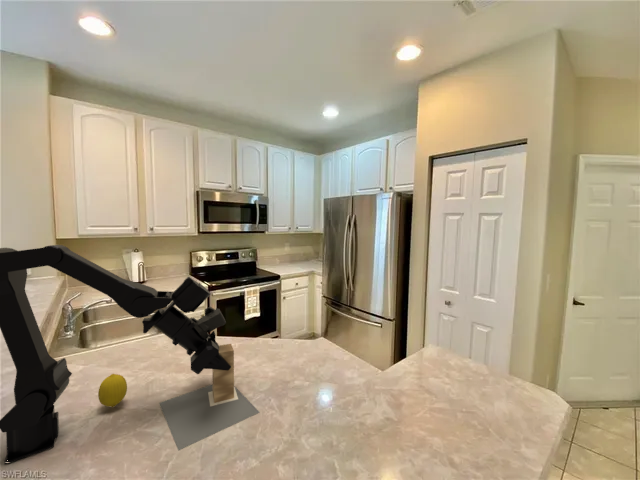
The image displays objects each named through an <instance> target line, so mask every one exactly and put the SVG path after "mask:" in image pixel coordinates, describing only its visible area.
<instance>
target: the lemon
mask: <svg viewBox="0 0 640 480" xmlns="http://www.w3.org/2000/svg"><path fill="white" fill-rule="evenodd" d="M127 391H128V384H127V380H126V378H125V377H124V376H123V375H122V374H121V375H120V374H117V373H111V374H110V375H108V376H107V377H106V378H104V379H103V381H102V382H101V383H100V385H99V387H98V394H97V395H98V400H99V403H100V404H101V405H102V406H104V407H108V408H109V407H111V408H115V407H116V406H117V405H118V404H120V403H121V402H122V401H123V400H124V398H125V397H126V394H127Z"/></svg>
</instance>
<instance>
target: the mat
mask: <svg viewBox="0 0 640 480" xmlns="http://www.w3.org/2000/svg"><path fill="white" fill-rule="evenodd" d="M158 404H159V407H160V409H161V411H162V414H163V416H164V418H165V422H166V423H167V427H168V428H169V431H170V434H171V437H172V438H173V441H174V443H175V446H176V448H177V450H178V451H181V450H183V449H185V448H187V447H189V446H192V445H194V444H196V443H198V442H200V441H202V440H204V439H207V438H208V437H210V436H213V435H215V434H218V433H220V432H221V431H224V430H226V429H228V428H230V427H232V426H235V425H236V424H238V423H240V422H243V421H245V420H247V419H249V418H251V417H253V416H255V415H258V414H260V411H259V409H257V408H256V407H255V406H254V405H253V404H252V402H251V401H250V400H249V399H248V398H247V397H246V396H245V395H244V394H243V393H242V392H241V390H239V389H238V388H237V387H236V386H235V385H234V398H232V399H228V400H224V401H220V402H216V403H214V398H213V383H212V384H209V385H206V386H204V387H200V388H196V389H195V390H191V391H189V392H186V393H184V394H181V395H178V396H175V397H173V398H170V399H167V400H163V401H160V402H159V403H158Z"/></svg>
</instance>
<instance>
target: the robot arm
mask: <svg viewBox="0 0 640 480" xmlns="http://www.w3.org/2000/svg"><path fill="white" fill-rule="evenodd" d="M41 267H51V268H53V269H55V270H56V271H59V272H60V273H63V274H65V275H67V276H68V277H71V278H72V279H75V280H77V281H78V282H80V283H83V284H85V285H87V286H88V287H90V288H92V289H94V290H97V291H98V292H101V293H102V294H104V295H106V296H108V297H109V298H110V299H112V300H113V301H114V303H116V304H117V305H118V306H119V308H121V309H122V310H123V311H125V312H126V313H127V314H129V315H131V316H132V317H134V318H140V319H141V318H142V321H141V322H142V325H143V330H142V333H143V334H147V333H148V332H149V331H150V330H151V329H152V328H155V329H156V330H157V331H159V332H160V333H162V334H163V335H165V336H166V337H168V338H169V339H170V340H171V341H172V344H173V345H174V346H175V347H177V345H179V346H180V347H182V348H183V349H184V350H185V351H186V354H187V355H188V356H190V371H192V372H194V373H195V374H196V375H199V374H200V373H202V372H203V370H212V369H217V370H227V371H228V370H229V369H230V368H231V366H230V364H229V363H228V362H227V361H226V360H225V359H224V358H223V357H222V356H221V354H220V353H219V346H220V344H219V343H218V342H217V341H216V333H215V332H216V331H215V330H216V329H218V328H219V327H223V326H224V325H226V324H227V321H226V319H225V317H224V315H223V313H222V311H221V310H220V308H217V307H216V308H213V307H211V306H209V307H207V308H204V315H202V316H201V317H200V318H199V319H196V318H195V317H189V316H187V315H186V314H187V313H191V312H192V313H194V312H195V311H196V310H197V309H199V307H200V306H201V305H202V304H203V303H204V302H205V301H206V300H207V299H208V298H209V297H210V296H211V295H212V293H211V292H210V291H209V289H207V288H206V287H205V286H204V285H203V284H202V283H200V282H197V280H195V279H193V278H192V277H191V276H187V277H186V278H185V279H184V280H183V282H181V284H180V285H179V286H178V287H177V288H176V289H175V290H173V291H168V290H167V291H165V290H164V291H163V290H157V289H156V288H154V287H152V286H148V285H146V284H142V283H140V282H136V281H133V280H128V279H125V278H122V276H121V277H120V276H119V275H117V274H115V273H113V272H111V271H110V270H108V269H106V268H104V267H102V266H101V265H99V264H96V263H95V262H93V261H91V260H90V259H87V258H86V257H84V256H81V255H80V254H78V253H76V252H74V251H72V250H71V249H70V248H69V247H67V246H65V245H63V244H54V245H53V244H52V245H46V246H44V247H40V248H37V247H36V248H31V249H23V250H17V249H14V248H11V247H0V332H1V334H2V337H3V339H4V342H5V344H6V347H7V349H8V352H9V355H10V357H11V359H12V362H13V364H14V367H15V370H16V371H15V372H16V374H15V380H14V384H13V385H14V387H13V394H14V402H15V403H14V406H12V407H11V408H10V410H9V411H8V412H6V414H4V416H2V418H0V431H1V432H2V433H6V434H5V439H6V455H5V458H4V461H3V462H11V463H13V462H16V461H19V460H21V459H24V458H27V457H30V456H33V455H35V454H38V453H41V452H43V451H46V450H49V449H52V448H54V447H55V442H56V439H57V438H59V432H60V422H59V421H60V419H59V417H60V416H59V411H55V403H57V402H56V401H58V399H59V398H60V396H61V395H62V394H63V393H64V391H65V390H66V388H68V385H69V384H70V377H71V376H72V375H73V373H72V372H71V370H70V369H69V368H68V364H67V359H66V357H64V358H61V359H59V360H56V359H55V358H53V357H52V356H51V355H50V353H49V351H48V348H47V346H46V343H45V341H44V337H43V335H42V333H41V330H40V327H39V324H38V322H37V320H36V317H35V314H34V311H33V309H32V306H31V303H30V301H29V298H28V295H27V293H26V285H27V277H28V270H29V269H35V268H41ZM184 313H185V314H184ZM148 316H150V317H148ZM145 317H146V318H145ZM209 333H210V334H209ZM7 460H8V461H7Z"/></svg>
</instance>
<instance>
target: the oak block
mask: <svg viewBox="0 0 640 480" xmlns="http://www.w3.org/2000/svg"><path fill="white" fill-rule="evenodd" d="M219 353H220V354H221V356H222V357H223V358H224V359H225V360H226V361H227V362H228V363H229V364H230V366H231V368H230V369H229V370H228V371H227V370H217V369H211V371H212V384H213V398H214V403H216V402H220V401H224V400H228V399H232V398H234V386H235V349H234V347H233V345H232V343H227V344H222V345H220V344H219Z"/></svg>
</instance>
